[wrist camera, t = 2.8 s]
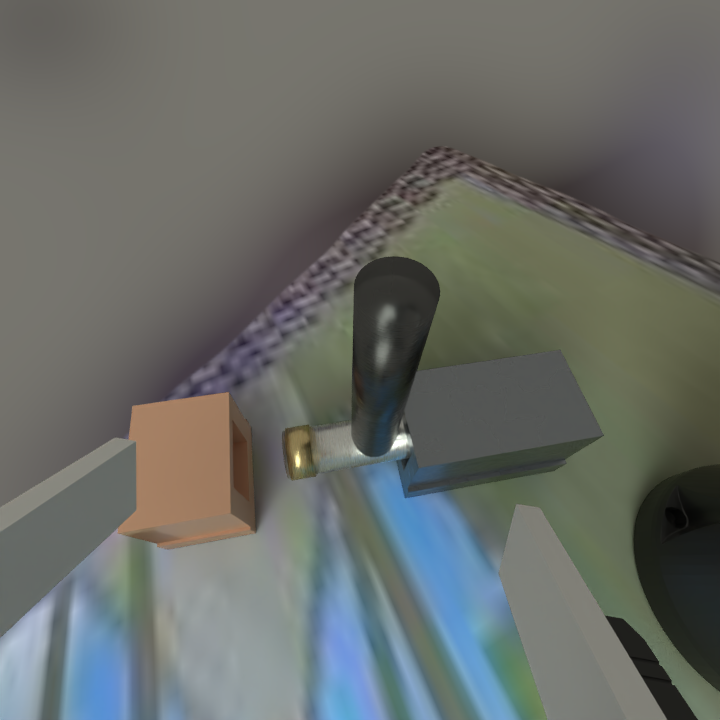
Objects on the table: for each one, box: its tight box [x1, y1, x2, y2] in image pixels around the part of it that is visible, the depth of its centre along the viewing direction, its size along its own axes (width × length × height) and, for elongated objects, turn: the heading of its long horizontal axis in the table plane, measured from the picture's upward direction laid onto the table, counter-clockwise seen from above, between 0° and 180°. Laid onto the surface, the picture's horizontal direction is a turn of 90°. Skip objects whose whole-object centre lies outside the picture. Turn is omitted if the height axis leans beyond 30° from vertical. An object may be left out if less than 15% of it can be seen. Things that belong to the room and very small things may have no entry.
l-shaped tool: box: [282, 257, 440, 480], centre depth 22 cm, size 20×4×18 cm, turn 100°
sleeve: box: [396, 350, 604, 498], centre depth 29 cm, size 12×7×7 cm, turn 100°
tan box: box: [118, 392, 256, 549], centre depth 27 cm, size 6×8×7 cm
